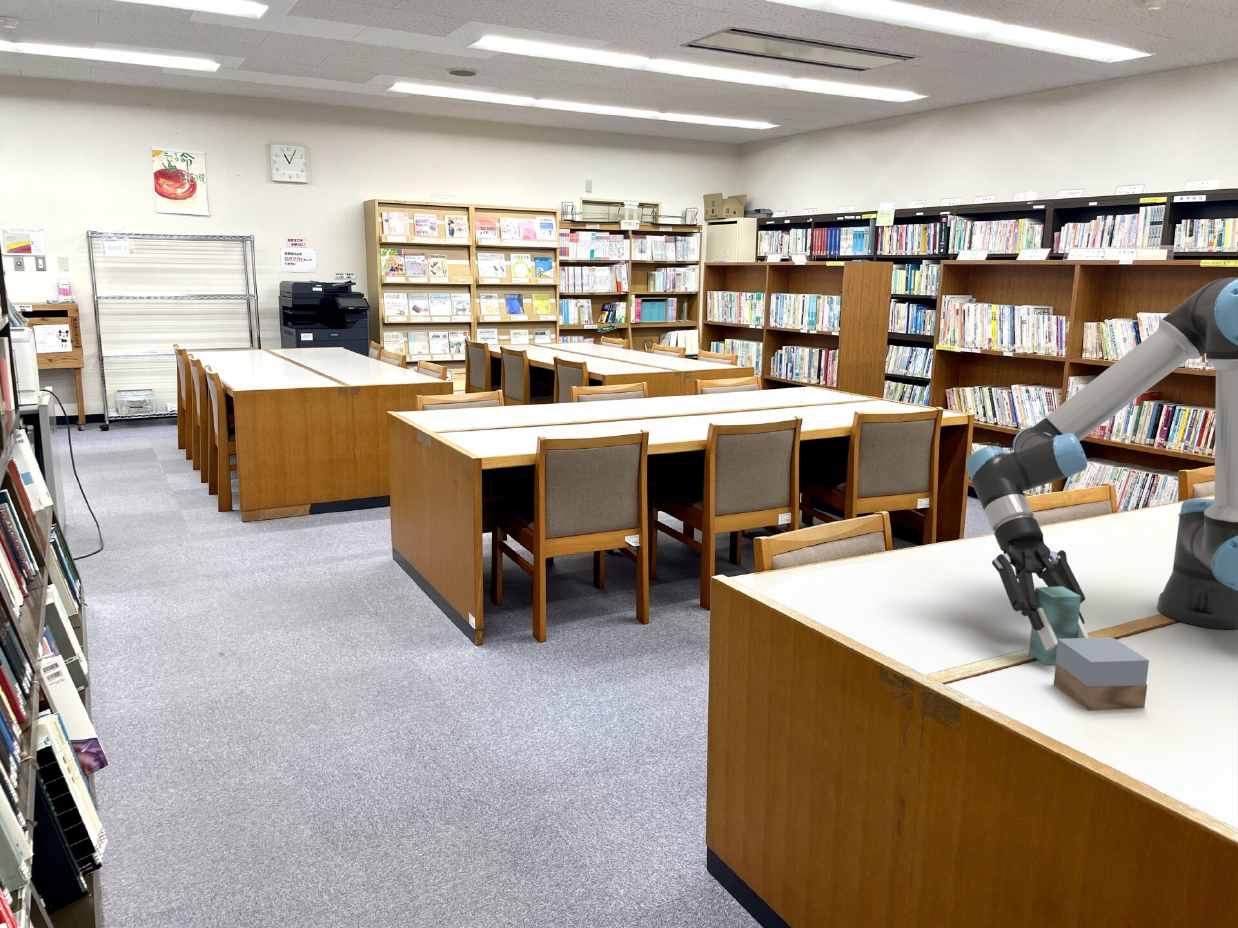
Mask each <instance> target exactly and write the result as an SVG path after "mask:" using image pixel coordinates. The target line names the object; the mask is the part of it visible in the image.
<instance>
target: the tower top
mask: <svg viewBox="0 0 1238 928" xmlns="http://www.w3.org/2000/svg"><path fill="white" fill-rule="evenodd" d="M1056 663H1057V664H1058V665H1060V666H1061V667H1062V668H1064V669H1065V670H1066V671H1068V672H1069V673H1070V674H1072V675H1073V676H1074V677H1076V678H1077V679H1078V680H1080V681H1081V682H1082V683H1084V684H1085V685H1086V686H1088V687H1106V686H1138V685H1146V684H1147V679H1148V672H1149V671H1148V670H1149V663H1150V660H1149V659H1148V658H1146V657H1145V656H1143V655H1141V654H1140V653H1138V652H1137V651H1135V650H1133V649H1132V648H1130V647H1128V646H1127V645H1125V644H1124V643H1122V642H1120V641H1119V640H1117V639H1116V638H1114V637H1112V636H1109V637H1107V636H1106V637H1089V638H1067V639H1058V642H1057V652H1056Z"/></svg>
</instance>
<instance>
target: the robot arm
mask: <svg viewBox="0 0 1238 928" xmlns="http://www.w3.org/2000/svg"><path fill="white" fill-rule="evenodd" d="M1204 355H1205V360H1206V361H1207V362H1208V363H1209V364H1210V365H1211V366H1212V367H1214V369H1215V413H1214V415H1215V419H1214V420H1215V425H1214V428H1215V429H1214V436H1215V437H1214V438H1215V439H1214V441H1215V443H1214V497H1213V498H1214V499H1213V498H1211V499H1210V498H1189V499H1188V498H1187V499H1186V500H1184V501H1183V502H1182V504H1181V508H1180V512H1179V513H1178V518H1179V519H1178V526H1177V533H1176V542H1175V548H1174V549H1175V550H1174V557H1173V564H1172V565H1173V566H1172V571H1171V574H1170V576H1169V578H1168V580H1167V581H1166V584H1165V586H1164V588H1163V591H1162V592H1161V593H1160V594H1159V595H1158V600H1157V607H1156V608H1157V610H1158V611H1159V612H1160V613H1161V614H1162V615H1164V616H1166V617H1168V618H1171V619H1173V620H1175V621H1178V622H1182V623H1185V624H1189V625H1194V626H1198V627H1204V628H1209V629H1221V630H1237V629H1238V277H1237V276H1232V277H1231V276H1230V277H1222V278H1218V279H1216V280H1213V281H1210V282H1208V283H1207V284H1205V285H1204V286H1202V287H1201V288H1199V289H1198V290H1196V291H1195V292H1194V293H1193V294H1191V295H1190V296H1189V297H1188V298H1186V299H1184V301H1182V302H1181V303H1180V304H1179V305H1178V306H1177V307H1175V308H1174V309H1173V310H1172V311H1171V312H1169V313H1168V314H1167V315H1166V316H1164V317H1163V318H1162V319H1161V320H1159V321H1158V327H1157V330H1155V331H1154V332H1152V334H1149V336H1147V338H1145V339H1144V340H1142V341H1141V342H1140V343H1139V344H1137V346H1134V348H1132V349H1131V350H1129V352H1127V353H1126V354H1125V355H1124V356H1122V357H1121V358H1119V359H1118V360H1117V361H1115V362H1114V363H1113V364H1112V365H1110V366H1109V367H1108V368H1107V369H1105V370H1104V371H1103V372H1102V373H1101V374H1099V375H1098V376H1097V377H1095V378H1094V379H1093V380H1092V381H1090V382H1089V383H1087V385H1085V386H1084V387H1083V388H1081V389H1080V390H1079V391H1077V392H1076V393H1075V394H1073V395H1072V396H1070V397H1069V399H1067V400H1065V402H1063V403H1062V404H1061V405H1059V406H1058V407H1057V408H1056V409H1054V410H1053V411H1052V412H1051V413H1049V414H1048V415H1047V416H1046V417H1044V418H1043V419H1042V420H1040V421H1039V422H1037V423H1036V424H1034V426H1031V427H1026V428H1023V429H1022V430H1020V431H1019V432H1018V433H1017V434H1016V436H1015V437H1014V439H1013V441H1012V448H1013V449H1012V450H1013V451H1012V452H1008V453H1007V452H1006V451H1005V450H1004V448H1002V447H1001V446H998V445H993V446H990V447H988V446H985V447H982V448H979V449H978V450H976V451H974V452H973V453H971V454H970V455H969V457H968V458H967V460H966V463H965V468H966V471H967V474H968V476H969V479H970V481H971V485H972V487H973V489H974V491H975V493H976V495H977V498H978V500H979V502H980V504H981V507H982V509H983V511H984V514H985V516H986V517H987V518H986V519H987V521H988V523H989V525H990V527H991V530H992V531H993V532H994V534H993V535H994V537H995V540H996V542H997V544H998V546H999V549H1000V550H1001V551H1002V552H1003V554H1002V553H1000V554H998V555H997V556H996V557H995V558H994V559H993V560H992V561H991V563H992V566H993V567H994V568H995V570H996V572H998V574H999V577H1000V580H1001V582H1002V584H1003V587H1004V590H1005V592H1006V595H1007V598H1008V600H1009V602H1010V605H1011V607H1012V608H1011V609H1013V611H1014V612H1020V613H1021V615H1022V616H1023V617H1027V618H1028V620H1029V622H1030V625H1031V628H1032V627H1033V629H1034V630H1035V631H1036V630H1037V631H1038V633H1039V636H1040V638H1041V640H1042V643H1043V645H1044V647H1045V650H1046V651H1047V650H1051V649H1052V648H1054V647H1055V646H1057V642H1058V641H1057V639H1056V636H1055V634H1054V632H1053V629H1052V627H1051V625H1050V623H1049V620H1048V618H1047V616H1046V614H1045V611H1044V609H1043V608H1038V609H1037V600H1036V594H1035V588H1036V587H1035V584H1034V576H1033V574H1035V575H1036V576H1037V578H1039V579H1042V581H1043V582H1044V583H1045V585H1046V587H1060V586H1063V587H1065V588H1067V589H1068V590H1070V591H1072V592H1074V593H1076V594H1078V595H1080V596H1081V602H1080V605H1081V604H1082V603H1083V602H1085V601H1086V597H1085V595H1084V592H1083V591H1082V589H1081V588H1082V587H1081V586H1080V584H1079V582H1078V581H1077V579H1076V577H1075V574H1074V573H1073V570H1072V569H1071V566H1070V565H1069V563H1068V560H1067V559H1068V558H1067V552H1066V551H1065V550H1063V549H1061V550H1059V551H1053V550H1050V547H1048V545H1046V543H1045V542H1044V534H1043V532H1042V529H1041V527H1040V525H1039V522H1038V520H1037V519H1036V518H1035V513H1034V512H1033V509H1032V507H1031V505H1030V502H1029V501H1028V499H1027V496H1026V495H1025V493H1024V492H1026V491H1029V490H1032V489H1035V488H1038V487H1041V486H1044V485H1047V484H1050V483H1053V482H1056V481H1061V480H1063V479H1066V478H1071V477H1073V476H1074V475H1077V474H1079V473H1081V472H1084V471H1085V470H1086V469H1087V468H1088V461H1087V460H1088V459H1087V457H1086V454H1085V451H1084V449H1083V447H1082V444H1081V443H1080V441H1082V440H1083V439H1084V438H1086V437H1088V435H1090V434H1091V433H1092V432H1094V431H1095V430H1097V429H1098V428H1099V427H1100V426H1102V425H1103V424H1105V422H1107V421H1108V420H1110V419H1111V418H1112V417H1113V416H1115V415H1116V414H1118V413H1119V412H1120V411H1122V410H1123V409H1125V407H1127V406H1128V405H1130V404H1131V403H1132V402H1133V401H1135V400H1136V399H1137V398H1139V397H1140V396H1141V395H1143V394H1144V393H1145V392H1147V391H1148V390H1149V389H1151V388H1152V387H1153V386H1155V385H1156V384H1158V383H1159V382H1160V381H1161V380H1163V379H1164V378H1166V377H1167V376H1168V375H1170V374H1171V373H1172V372H1173V371H1175V370H1176V369H1178V368H1179V367H1180V366H1182V365H1183V364H1184V363H1185V362H1186V361H1189V360H1198V359H1200V358H1202V357H1203V356H1204ZM1013 567H1014V568H1013ZM1084 619H1085V618H1084V617H1083V614H1082V613H1081V610H1080V611H1079V620H1078V629H1077V638H1090V637H1089V635H1088V632H1087V630H1086V627H1085V626H1084V625H1085V622H1086V621H1085V620H1084Z"/></svg>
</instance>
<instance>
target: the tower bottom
mask: <svg viewBox="0 0 1238 928" xmlns="http://www.w3.org/2000/svg"><path fill="white" fill-rule="evenodd" d="M1053 677H1054V678H1053V685H1054V686H1055V687H1056V688H1058V689H1060V691H1062V692H1063V693H1064V694H1066V695H1067V696H1069V697H1070V698H1071V699H1073V700H1074V701H1075V702H1077V703H1078V704H1079V705H1081V706H1082V707H1084V708H1085V709H1086V710H1088V711H1106V710H1107V711H1108V710H1125V709H1143V708H1145V706H1146V698H1147V690H1148V684H1147V683H1146V685H1138V686H1106V687H1088V686H1086V685H1085V684H1084V683H1082V682H1081V681H1080V680H1078V679H1077V678H1076V677H1074V676H1073V675H1072V674H1070V673H1069V672H1068V671H1066V670H1065V669H1064V668H1062V667H1061V666H1060V665H1058V664H1057V663H1056V665H1055V666H1054V676H1053Z"/></svg>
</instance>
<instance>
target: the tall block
mask: <svg viewBox="0 0 1238 928" xmlns="http://www.w3.org/2000/svg"><path fill="white" fill-rule="evenodd" d="M1034 588H1035V594H1036V600H1037V609H1038V608H1043V609H1044V611H1045V614H1046V616H1047V618H1048V620H1049V623H1050V625H1051V627H1052V629H1053V632H1054V634H1055V636H1056V639H1057V641H1058V639H1067V638H1077V629H1078V620H1079V611H1080V612H1081V610H1080V609H1081V604H1080V602H1081V596H1080V595H1078V594H1076V593H1074V592H1072V591H1070V590H1068V589H1067V588H1065V587H1063V586H1060V587H1048V586H1042V587H1041V586H1040V587H1034ZM1029 639H1030V640H1029V649H1028V654H1029V655H1031V656H1032V657H1033V658H1035V659H1037V660H1038V661H1040V662H1041V663H1042V664H1044V665H1046V666H1053V665H1055V666H1056V652H1057V646H1055V647H1054V648H1052V649H1051V650H1047V651H1046V650H1045V647H1044V645H1043V643H1042V640H1041V638H1040V636H1039V633H1038V631H1037V630H1036V631H1035V630H1034V629H1033V627H1032V626H1031V631H1030V638H1029Z"/></svg>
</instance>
